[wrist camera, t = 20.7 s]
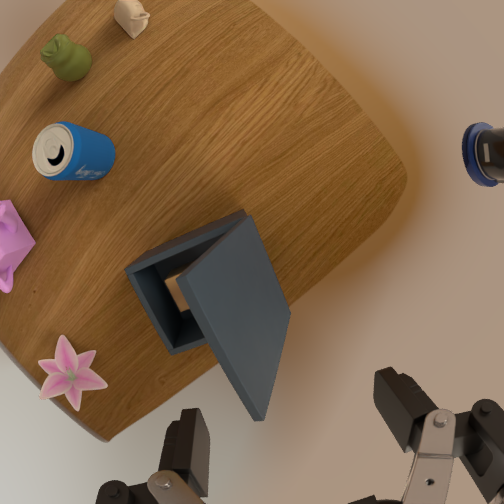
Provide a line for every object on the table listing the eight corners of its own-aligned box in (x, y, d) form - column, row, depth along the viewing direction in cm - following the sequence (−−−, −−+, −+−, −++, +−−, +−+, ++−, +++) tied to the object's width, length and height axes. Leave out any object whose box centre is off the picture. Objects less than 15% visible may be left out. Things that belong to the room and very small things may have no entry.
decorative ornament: (135, 2, 31) (126, -16, 26) (160, 30, 33) (152, 12, 27) (113, 16, 31) (101, 0, 26) (137, 45, 33) (126, 30, 28)
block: (215, 287, 40) (213, 299, 36) (185, 299, 40) (180, 312, 36) (201, 257, 39) (197, 266, 35) (170, 270, 39) (163, 280, 35)
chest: (181, 324, 42) (171, 355, 34) (144, 252, 39) (123, 269, 31) (275, 287, 42) (287, 312, 33) (243, 208, 39) (247, 215, 31)
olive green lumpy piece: (76, 92, 34) (41, 73, 24) (61, 73, 32) (27, 52, 23) (103, 65, 33) (74, 39, 23) (87, 47, 32) (58, 21, 22)
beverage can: (91, 189, 37) (45, 193, 25) (70, 154, 36) (22, 148, 24) (125, 160, 37) (86, 152, 25) (103, 125, 35) (60, 107, 24)
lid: (253, 421, 19) (264, 421, 18) (174, 279, 16) (185, 275, 16) (284, 314, 33) (291, 313, 33) (244, 217, 30) (251, 214, 30)
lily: (126, 374, 45) (106, 380, 35) (89, 417, 41) (65, 428, 32) (81, 325, 46) (54, 320, 37) (47, 368, 43) (18, 370, 34)
